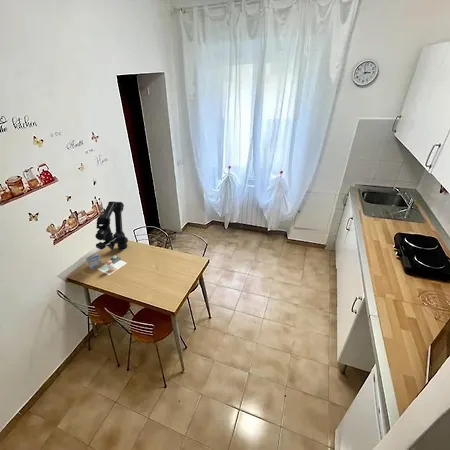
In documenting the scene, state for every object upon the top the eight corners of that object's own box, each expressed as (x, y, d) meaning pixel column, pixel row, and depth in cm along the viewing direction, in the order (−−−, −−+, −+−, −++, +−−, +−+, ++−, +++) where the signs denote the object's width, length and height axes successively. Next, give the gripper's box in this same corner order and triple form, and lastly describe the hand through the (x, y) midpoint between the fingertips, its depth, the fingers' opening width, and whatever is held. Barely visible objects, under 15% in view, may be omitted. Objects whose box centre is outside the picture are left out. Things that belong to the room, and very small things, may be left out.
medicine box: (92, 269, 185) (88, 260, 180) (88, 267, 187) (85, 257, 183) (102, 264, 190) (99, 254, 186) (98, 261, 192) (95, 252, 188)
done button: (115, 257, 194) (114, 255, 193) (117, 258, 192) (117, 256, 191) (111, 259, 191) (111, 257, 190) (114, 260, 190) (113, 258, 189)
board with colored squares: (116, 257, 197) (115, 254, 196) (129, 263, 190) (128, 260, 189) (95, 270, 184) (94, 267, 182) (108, 277, 177) (108, 274, 176)
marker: (112, 268, 184) (109, 259, 180) (115, 269, 183) (112, 260, 179) (107, 270, 182) (105, 262, 178) (111, 272, 180) (108, 263, 176)
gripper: (110, 223, 190) (115, 241, 198) (88, 235, 177) (94, 253, 185) (120, 227, 185) (125, 245, 193) (98, 239, 172) (104, 258, 180)
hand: (112, 250), depth 188 cm, fingers closed
